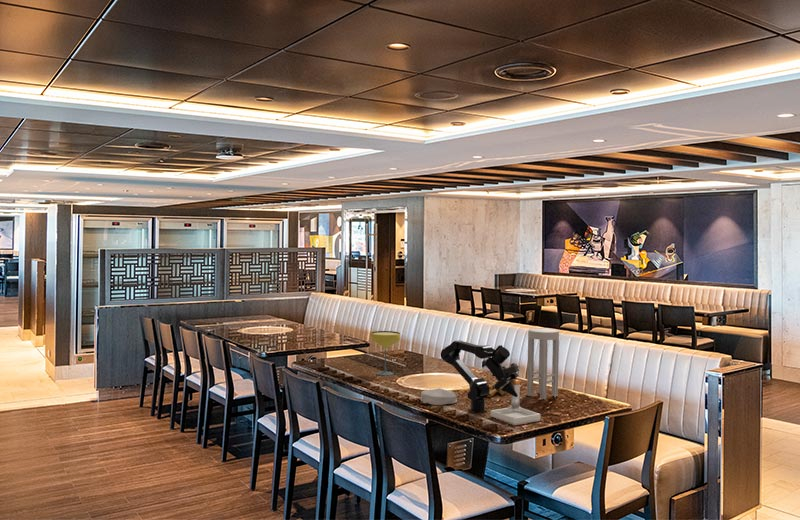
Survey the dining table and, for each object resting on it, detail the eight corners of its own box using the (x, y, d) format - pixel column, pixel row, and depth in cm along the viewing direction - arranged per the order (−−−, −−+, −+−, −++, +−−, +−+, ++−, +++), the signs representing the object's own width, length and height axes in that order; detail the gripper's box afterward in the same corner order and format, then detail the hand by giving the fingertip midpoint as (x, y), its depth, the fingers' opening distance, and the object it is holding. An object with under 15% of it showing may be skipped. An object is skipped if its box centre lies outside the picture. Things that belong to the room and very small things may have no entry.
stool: (563, 396, 343) (564, 330, 342) (544, 400, 333) (545, 333, 332) (540, 391, 355) (541, 327, 354) (521, 395, 346) (522, 329, 345)
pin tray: (490, 416, 301) (490, 410, 301) (516, 412, 310) (516, 406, 309) (513, 425, 288) (513, 418, 287) (540, 420, 296) (540, 414, 296)
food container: (413, 398, 337) (413, 385, 336) (448, 395, 344) (448, 382, 344) (428, 408, 318) (428, 394, 318) (465, 404, 325) (465, 391, 325)
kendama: (496, 401, 336) (512, 390, 351) (494, 389, 336) (509, 379, 350) (483, 401, 341) (499, 391, 355) (481, 390, 341) (497, 379, 355)
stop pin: (507, 407, 301) (507, 378, 301) (519, 407, 302) (520, 378, 301) (510, 411, 295) (511, 381, 295) (523, 411, 296) (524, 381, 295)
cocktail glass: (393, 378, 384) (394, 335, 383) (365, 375, 390) (366, 333, 389) (404, 372, 400) (404, 332, 400) (377, 370, 407) (377, 330, 406)
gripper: (501, 361, 291) (524, 388, 287) (514, 355, 308) (536, 381, 303) (484, 376, 295) (507, 404, 291) (498, 369, 312) (520, 395, 307)
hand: (518, 395), depth 298 cm, fingers closed on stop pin, 4 cm apart
